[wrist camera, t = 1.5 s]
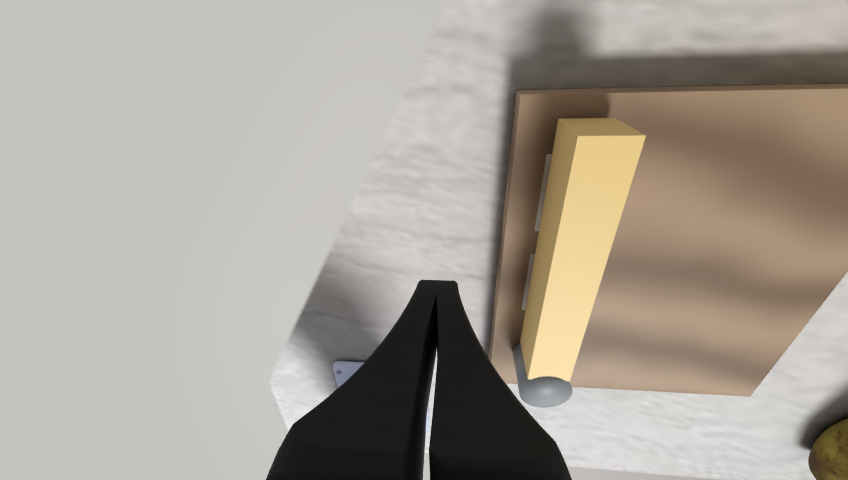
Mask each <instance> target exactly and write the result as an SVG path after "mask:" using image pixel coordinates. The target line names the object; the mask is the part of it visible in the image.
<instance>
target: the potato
mask: <svg viewBox="0 0 848 480" xmlns="http://www.w3.org/2000/svg"><path fill="white" fill-rule="evenodd" d="M808 461H809V467H810V470H811V472H812V474H813V475H814V477H815V478H816V479H817V480H848V418H846V419H844V420H842V421H839V422H838V423H836V424H834V425H832V426H831V427H829V428H828V429H826V430H825V431H824V432H823V433H822V434H821V435H820V436H819V437H818V438H817V439H816V441H815V442H814V444H813V447H812V449H811V452H810V455H809V460H808Z"/></svg>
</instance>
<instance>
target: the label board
mask: <svg viewBox="0 0 848 480" xmlns="http://www.w3.org/2000/svg"><path fill="white" fill-rule="evenodd" d="M573 118H616V119H618V120H620V121H621V122H623V123H625V124H627V125H628V126H630V127H632V128H634V129H636V130H637V131H639V132H641V133H643V134H644V135H646V138H645V141H644V144H643V147H642V150H641V154H640V157H639V160H638V163H637V167H636V170H635V173H634V176H633V179H632V183H631V186H630V189H629V192H628V196H627V199H626V202H625V205H624V208H623V212H622V215H621V218H620V221H619V224H618V228H617V231H616V234H615V237H614V241H613V244H612V247H611V250H610V253H609V257H608V260H607V263H606V266H605V270H604V273H603V276H602V279H601V282H600V286H599V289H598V292H597V295H596V299H595V302H594V305H593V308H592V311H591V315H590V318H589V321H588V324H587V328H586V331H585V334H584V337H583V340H582V344H581V347H580V350H579V353H578V356H577V360H576V363H575V366H574V369H573V373H572V376H571V379H570V384H571V387H585V388H603V389H621V390H640V391H658V392H677V393H695V394H714V395H732V396H751V394H752V393H753V392H754V391H755V389H756V388H757V387H758V385H759V384H760V383H761V382H762V380H763V379H764V378H765V376H766V375H767V374H768V373H769V371H770V370H771V369H772V368H773V366H774V365H775V364H776V362H777V361H778V360H779V359H780V357H781V356H782V355H783V353H784V352H785V351H786V350H787V348H788V347H789V346H790V345H791V343H792V342H793V341H794V339H795V338H796V337H797V336H798V334H799V333H800V332H801V330H802V329H803V328H804V327H805V325H806V324H807V323H808V322H809V320H810V319H811V318H812V316H813V315H814V314H815V313H816V311H817V310H818V309H819V307H820V306H821V305H822V304H823V302H824V301H825V300H826V298H827V297H828V296H829V295H830V293H831V292H832V291H833V290H834V288H835V287H836V286H837V284H838V283H839V282H840V281H841V279H842V278H843V277H844V275H845V274H846V273H847V272H848V83H833V84H782V85H731V86H680V87H629V88H578V89H527V90H516V95H515V104H514V114H513V124H512V133H511V143H510V152H509V162H508V172H507V181H506V191H505V200H504V210H503V220H502V229H501V239H500V249H499V258H498V268H497V277H496V287H495V297H494V306H493V316H492V325H491V335H490V345H489V354H488V358H489V360H490V361H491V363H492V365H493V366H494V368H495V369H496V371H497V372H498V374H499V375H500V377H501V378H502V379H503V381H504V382H505V383H511V384H518V382H517V376H516V370H515V364H514V359H513V351H514V349H515V347H516V346H517V345H518V344H520V339H521V333H522V327H523V322H524V316H525V310H526V304H527V298H528V292H529V287H530V281H531V275H532V269H533V263H534V257H535V252H536V246H537V240H538V234H539V228H540V223H541V217H542V211H543V205H544V199H545V193H546V188H547V182H548V176H549V170H550V164H551V158H552V153H553V147H554V141H555V135H556V129H557V124H558V119H573Z"/></svg>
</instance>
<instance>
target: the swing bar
mask: <svg viewBox="0 0 848 480" xmlns="http://www.w3.org/2000/svg"><path fill="white" fill-rule="evenodd" d="M645 138H646V135H644V134H643V133H641V132H639V131H637V130H636V129H634V128H632V127H630V126H628V125H627V124H625V123H623V122H621V121H620V120H618V119H616V118H573V119H558V124H557V129H556V135H555V141H554V147H553V153H552V158H551V164H550V170H549V176H548V182H547V188H546V193H545V199H544V205H543V211H542V217H541V223H540V228H539V234H538V240H537V246H536V252H535V257H534V263H533V269H532V275H531V281H530V287H529V292H528V298H527V304H526V310H525V316H524V322H523V327H522V333H521V339H520V344H518V345H517V346H516V347H515V349H514V351H513V359H514V364H515V370H516V376H517V382H518V388H519V394H520V397H521V399H522V400H523V401H524V402H525V403H527V404H529V405H532V406H535V407H543V408H546V407H554V406H557V405H560V404H562V403H564V402H566V401H567V400H568V399H569V398H570V396H571V394H572V387H571V384H570V379H571V376H572V373H573V369H574V366H575V363H576V360H577V356H578V353H579V350H580V347H581V344H582V340H583V337H584V334H585V331H586V328H587V324H588V321H589V318H590V315H591V311H592V308H593V305H594V302H595V299H596V295H597V292H598V289H599V286H600V282H601V279H602V276H603V273H604V270H605V266H606V263H607V260H608V257H609V253H610V250H611V247H612V244H613V241H614V237H615V234H616V231H617V228H618V224H619V221H620V218H621V215H622V212H623V208H624V205H625V202H626V199H627V196H628V192H629V189H630V186H631V183H632V179H633V176H634V173H635V170H636V167H637V163H638V160H639V157H640V154H641V150H642V147H643V144H644V141H645Z"/></svg>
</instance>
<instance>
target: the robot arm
mask: <svg viewBox="0 0 848 480" xmlns="http://www.w3.org/2000/svg"><path fill="white" fill-rule="evenodd" d="M436 350H437V358H438V360H437V372H436V384H435V395H434V406H433V417H432V427H431V436H430V446H429V460H430V480H572V479H571V477H570V474H569V471H568V468H567V466H566V463H565V461H564V459H563V456H562V454H561V452H560V450H559V448H558V446H557V444H556V442H555V441H554V440H553V439H552V438H551V437H550V435H549V434H548V433H547V432H546V431H545V430H544V429H543V428H542V427H541V426H540V425H539V424H538V423H537V421H536V420H535V419H534V418H533V417H532V416H531V415H530V414H529V412H528V411H527V410H526V409H525V408H524V406H523V405H522V404H521V403H520V402H519V400H518V399H517V398H516V396H515V395H514V394H513V393H512V391H511V390H510V389H509V387H508V386H507V385H506V383H505V382H504V381H503V379H502V378H501V377H500V375H499V374H498V372H497V371H496V369H495V368H494V366H493V365H492V363H491V361H490V360H489V358H488V357H487V355H486V353H485V351H484V350H483V348H482V346H481V344H480V343H479V341H478V339H477V337H476V335H475V333H474V331H473V329H472V327H471V324H470V322H469V320H468V317H467V315H466V313H465V310H464V307H463V305H462V302H461V299H460V295H459V291H458V284H457V283H456V282H455V281H441V280H421V281H419V282H418V285H417V287H416V289H415V292H414V294H413V296H412V298H411V299H410V301H409V303H408V305H407V306H406V308H405V310H404V311H403V313H402V315H401V316H400V318H399V319H398V321H397V322H396V324H395V325H394V327H393V328H392V329H391V331H390V332H389V334H388V335H387V336H386V338H385V339H384V340H383V342H382V343H381V344H380V345H379V347H378V348H377V349H376V350H375V351H374V352H373V354H372V355H371V356H370V357H369V358H368V359H367V360H366V361H365V362H346V361H336V362H334V364H333V371H334V375H335V379H336V383H337V387H338V389H336V390H335V391H334V392H333V393H332V394H331V395H330V396H329V397H328V398H326V399H325V400H324V401H323V402H321V403H320V404H319V405H318V406H316V407H315V408H314V409H312V410H311V411H310V412H308V413H307V414H306V415H305V416H303V417H302V418H301V419H299V420H298V421H297V422H295V423H294V424H293V425H292V427H291V429H290V430H289V432H288V434H287V435H286V437H285V439H284V441H283V443H282V445H281V447H280V448H279V450H278V452H277V455H276V457H275V459H274V462H273V464H272V466H271V469H270V471H269V474H268V476H267V479H266V480H423V465H424V449H425V434H426V432H427V431H428V430H429V417H428V401H429V394H430V388H431V382H432V375H433V369H434V363H435V356H436Z"/></svg>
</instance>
